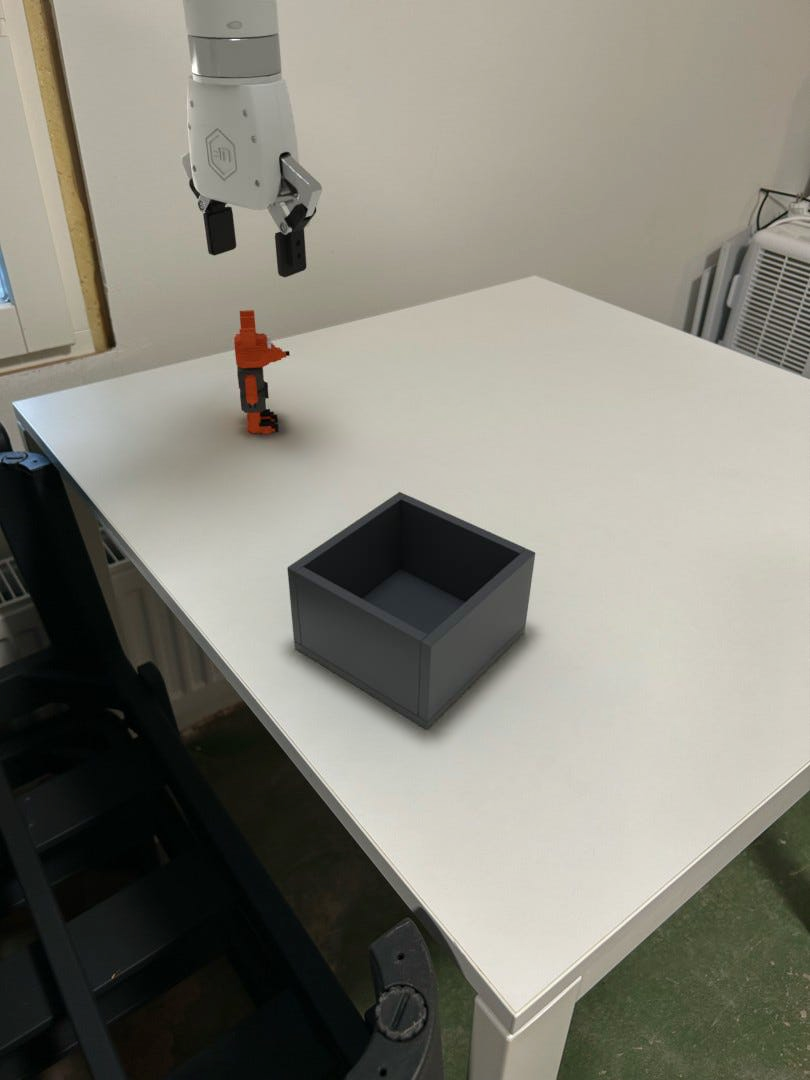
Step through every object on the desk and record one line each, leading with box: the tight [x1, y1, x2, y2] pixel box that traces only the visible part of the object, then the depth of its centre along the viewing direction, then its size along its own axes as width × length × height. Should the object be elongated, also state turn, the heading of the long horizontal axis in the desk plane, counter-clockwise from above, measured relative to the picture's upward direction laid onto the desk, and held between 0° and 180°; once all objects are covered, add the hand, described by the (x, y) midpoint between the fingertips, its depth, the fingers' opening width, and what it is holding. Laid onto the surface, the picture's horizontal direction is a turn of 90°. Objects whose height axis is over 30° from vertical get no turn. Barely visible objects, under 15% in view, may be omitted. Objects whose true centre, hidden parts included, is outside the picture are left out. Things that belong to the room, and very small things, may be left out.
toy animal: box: [233, 309, 291, 435], centre depth 87 cm, size 8×6×12 cm
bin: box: [286, 491, 536, 730], centre depth 61 cm, size 13×13×8 cm
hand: (256, 262), depth 80 cm, fingers open, 9 cm apart
